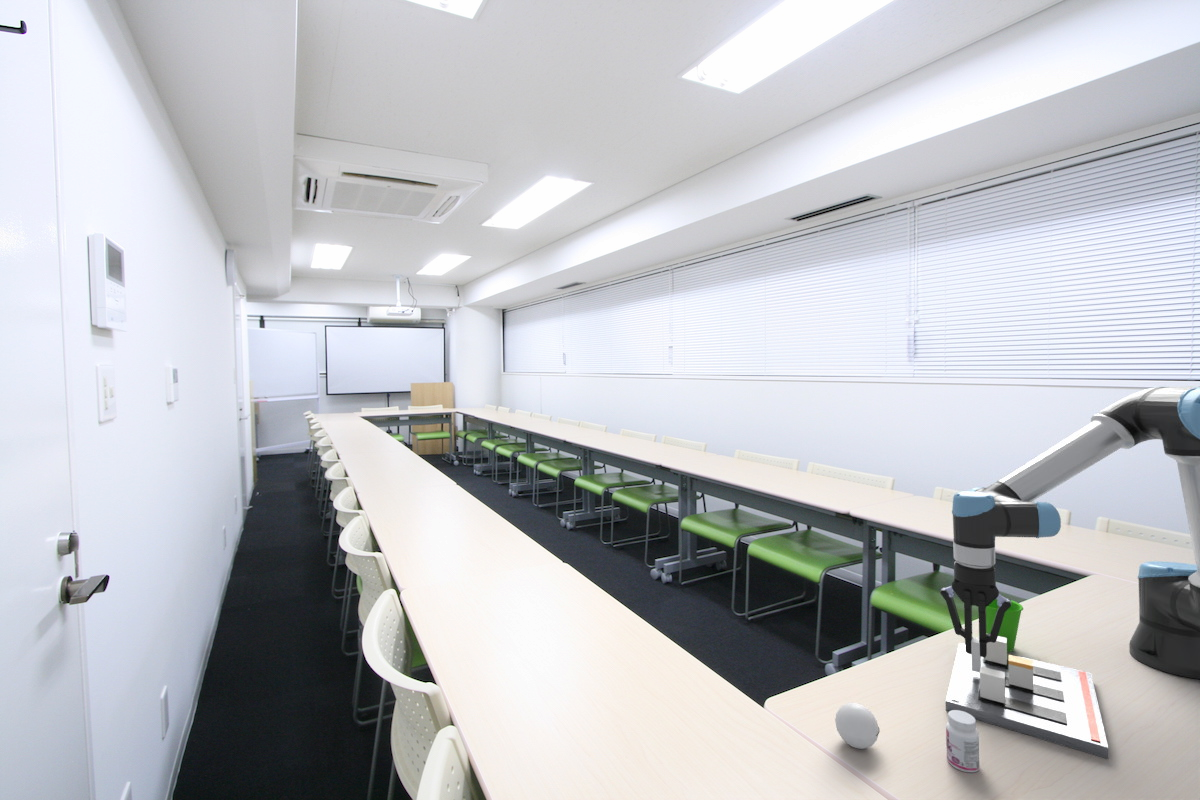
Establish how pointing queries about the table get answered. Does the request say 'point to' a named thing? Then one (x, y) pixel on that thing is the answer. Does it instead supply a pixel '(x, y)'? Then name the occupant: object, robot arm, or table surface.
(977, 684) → the panel
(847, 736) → the white oval ovoid
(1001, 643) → the block
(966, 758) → the pill bottle
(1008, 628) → the cup
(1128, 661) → the table surface
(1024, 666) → the block
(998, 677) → the block
